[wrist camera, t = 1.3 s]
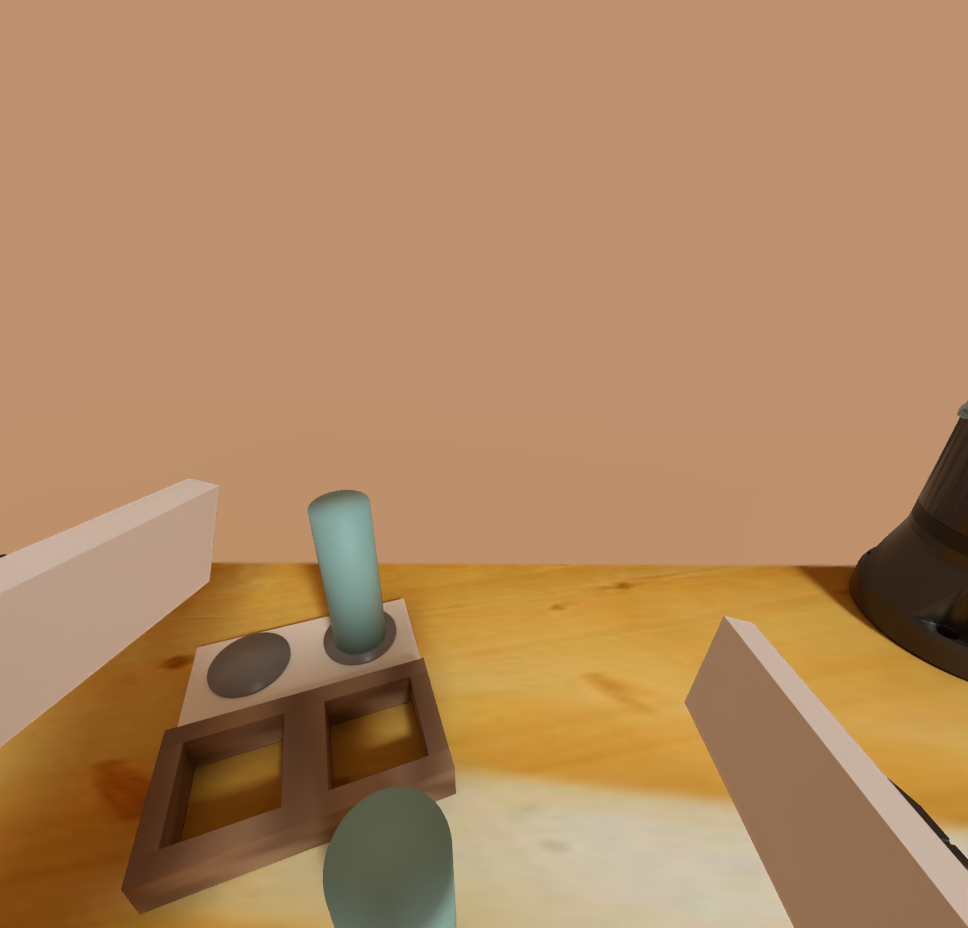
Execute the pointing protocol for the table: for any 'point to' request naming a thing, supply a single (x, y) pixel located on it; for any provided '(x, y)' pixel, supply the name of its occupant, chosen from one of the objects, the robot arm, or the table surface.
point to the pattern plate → (287, 664)
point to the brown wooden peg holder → (305, 782)
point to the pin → (349, 569)
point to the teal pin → (391, 864)
